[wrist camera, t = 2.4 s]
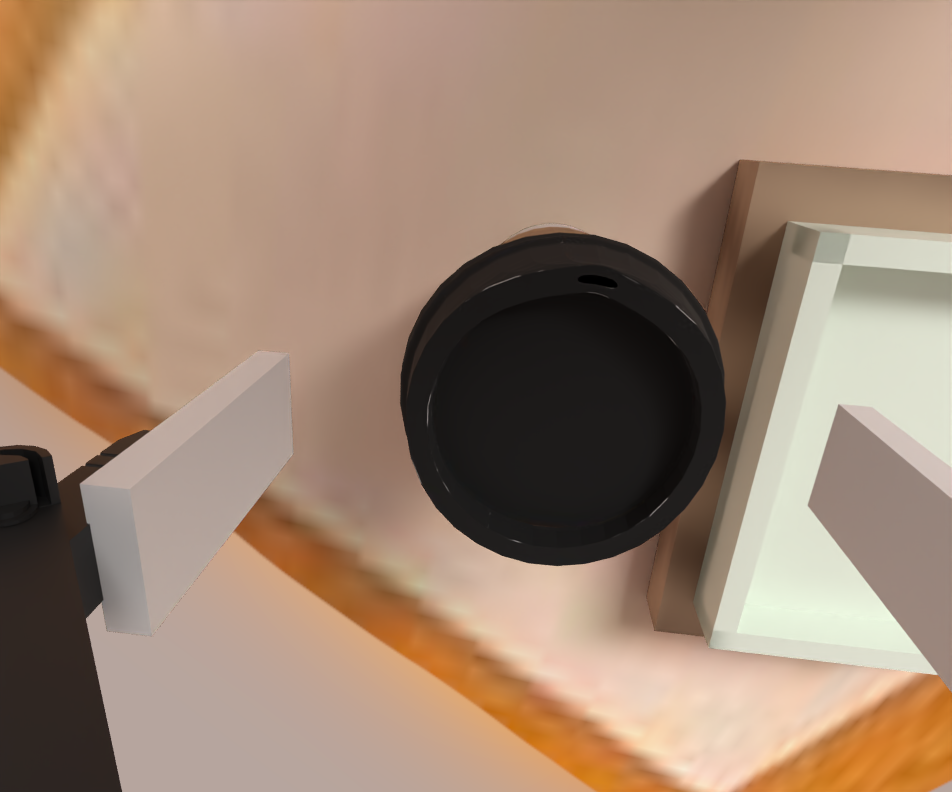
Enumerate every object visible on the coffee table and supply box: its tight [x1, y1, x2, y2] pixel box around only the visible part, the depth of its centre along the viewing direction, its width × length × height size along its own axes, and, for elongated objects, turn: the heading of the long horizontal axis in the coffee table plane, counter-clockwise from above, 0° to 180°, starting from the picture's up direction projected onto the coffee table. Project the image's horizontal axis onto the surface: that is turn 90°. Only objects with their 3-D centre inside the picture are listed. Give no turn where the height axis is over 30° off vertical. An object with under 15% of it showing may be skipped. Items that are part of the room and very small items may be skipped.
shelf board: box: [647, 160, 952, 637], centre depth 28 cm, size 22×16×2 cm
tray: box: [693, 221, 952, 675], centre depth 26 cm, size 18×13×3 cm
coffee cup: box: [400, 223, 726, 566], centre depth 21 cm, size 8×8×15 cm
